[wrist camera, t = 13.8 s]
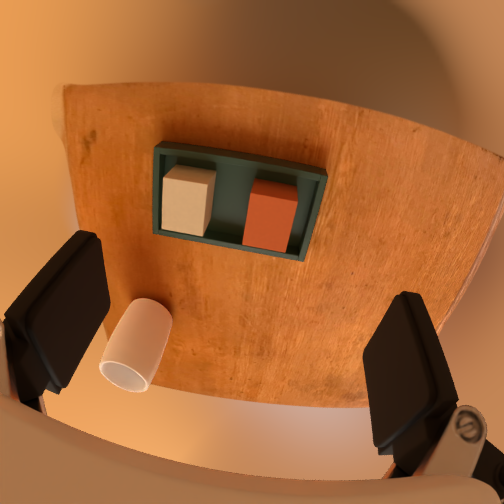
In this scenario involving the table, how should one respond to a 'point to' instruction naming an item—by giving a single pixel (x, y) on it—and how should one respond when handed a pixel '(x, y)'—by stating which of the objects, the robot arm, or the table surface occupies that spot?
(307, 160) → the table surface
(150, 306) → the cup
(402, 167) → the table surface
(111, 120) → the table surface
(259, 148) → the table surface
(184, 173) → the cream white rectangular block
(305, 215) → the tray
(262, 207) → the orange-red block
